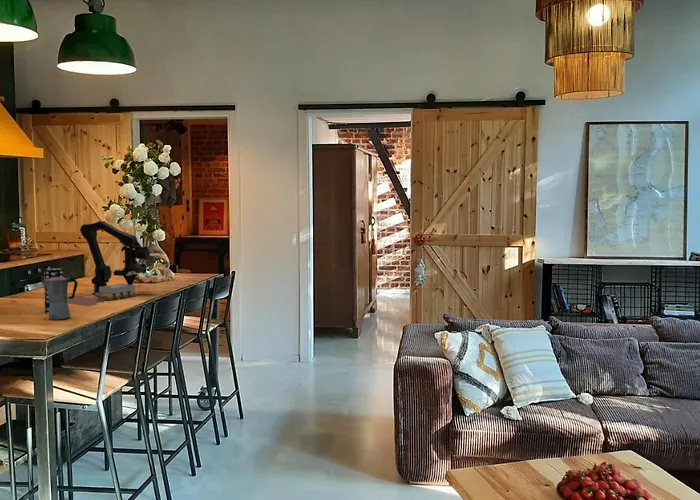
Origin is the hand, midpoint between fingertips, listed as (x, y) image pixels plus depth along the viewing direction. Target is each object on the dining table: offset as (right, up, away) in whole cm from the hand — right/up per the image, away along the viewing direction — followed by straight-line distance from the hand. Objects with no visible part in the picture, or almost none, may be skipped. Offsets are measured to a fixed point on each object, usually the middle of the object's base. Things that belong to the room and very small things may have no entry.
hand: (130, 287), depth 357 cm
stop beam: (-15, -7, -29) cm, 33 cm away
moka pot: (-8, -10, -67) cm, 69 cm away
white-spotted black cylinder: (-17, -9, -53) cm, 56 cm away
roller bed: (-7, -6, -13) cm, 16 cm away
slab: (-4, -2, -8) cm, 9 cm away
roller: (-12, -6, -23) cm, 27 cm away
